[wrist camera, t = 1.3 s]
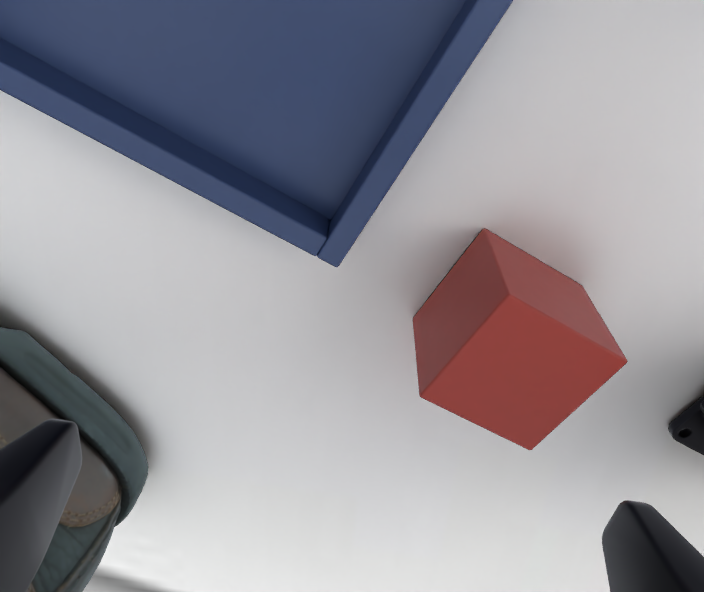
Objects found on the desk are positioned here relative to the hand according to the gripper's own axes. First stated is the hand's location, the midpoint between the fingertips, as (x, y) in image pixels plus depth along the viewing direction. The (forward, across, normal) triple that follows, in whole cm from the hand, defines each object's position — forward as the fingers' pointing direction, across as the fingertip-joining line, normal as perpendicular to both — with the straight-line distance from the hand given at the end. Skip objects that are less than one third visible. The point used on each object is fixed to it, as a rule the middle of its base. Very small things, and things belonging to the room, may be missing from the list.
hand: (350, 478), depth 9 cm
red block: (+12, -5, +3) cm, 13 cm away
